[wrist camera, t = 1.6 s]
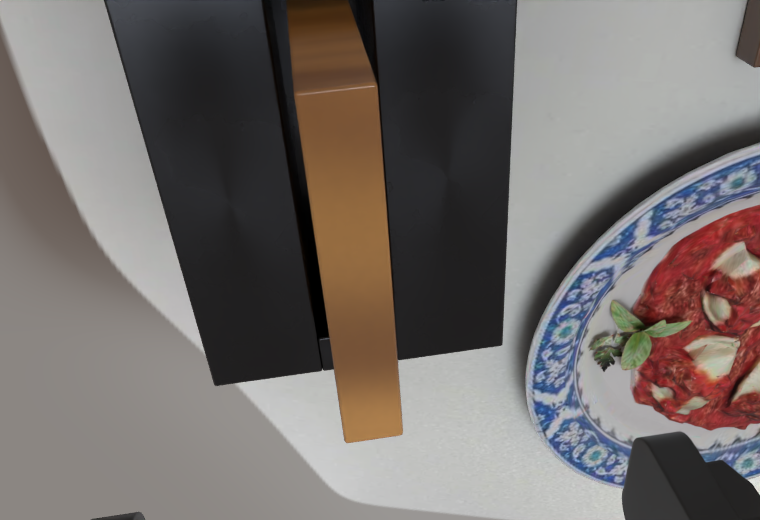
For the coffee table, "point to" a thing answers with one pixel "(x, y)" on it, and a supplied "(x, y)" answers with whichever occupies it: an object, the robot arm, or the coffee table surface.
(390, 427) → the toast
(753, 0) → the cutting board
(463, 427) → the coffee table surface
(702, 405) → the ceramic plate
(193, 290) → the toaster
